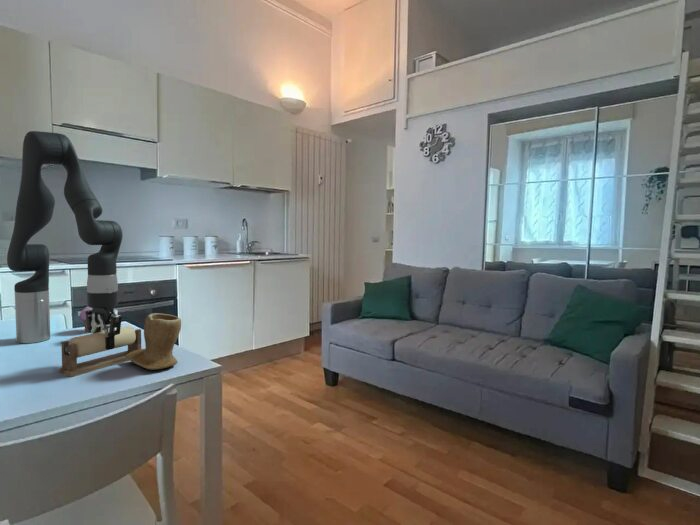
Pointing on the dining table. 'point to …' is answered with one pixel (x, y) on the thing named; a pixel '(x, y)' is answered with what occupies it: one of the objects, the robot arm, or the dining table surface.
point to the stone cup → (157, 342)
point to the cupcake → (83, 316)
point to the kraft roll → (101, 341)
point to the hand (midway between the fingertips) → (103, 347)
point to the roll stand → (75, 369)
